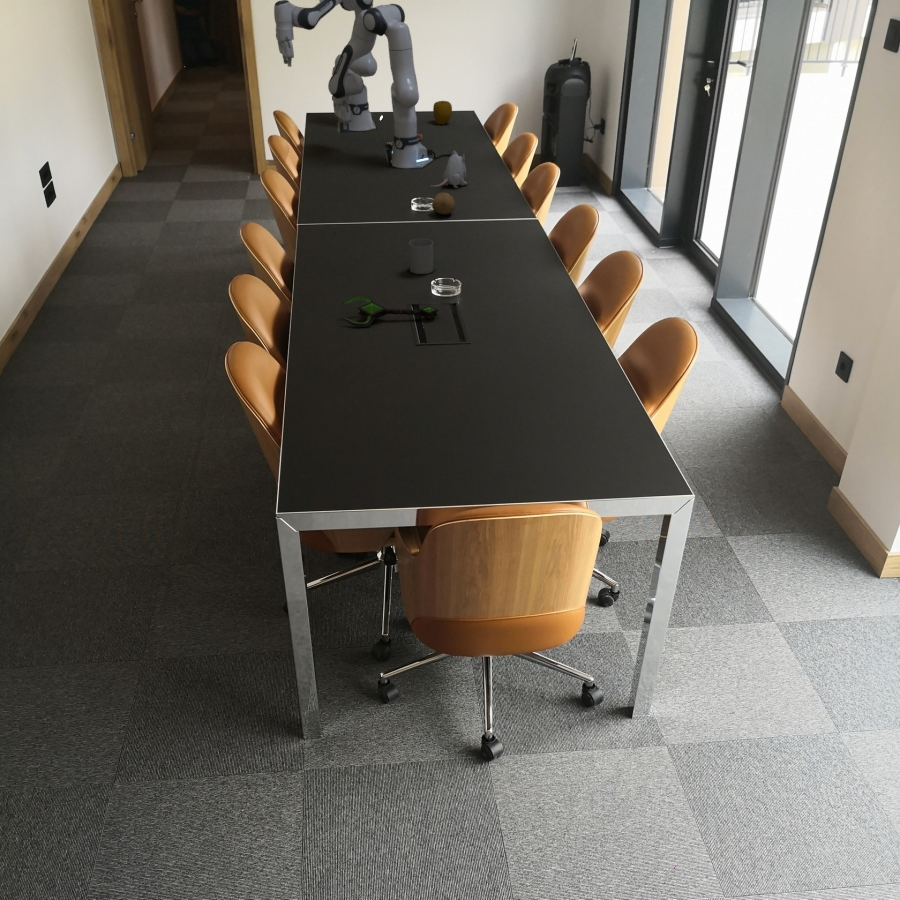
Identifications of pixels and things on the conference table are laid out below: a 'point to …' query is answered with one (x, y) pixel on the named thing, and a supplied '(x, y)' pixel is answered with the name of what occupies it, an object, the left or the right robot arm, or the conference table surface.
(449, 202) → the potato
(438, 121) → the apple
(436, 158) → the right robot arm
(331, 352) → the conference table surface
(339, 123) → the block
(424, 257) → the cup
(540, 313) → the conference table surface
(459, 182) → the toy
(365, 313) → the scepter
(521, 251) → the conference table surface
